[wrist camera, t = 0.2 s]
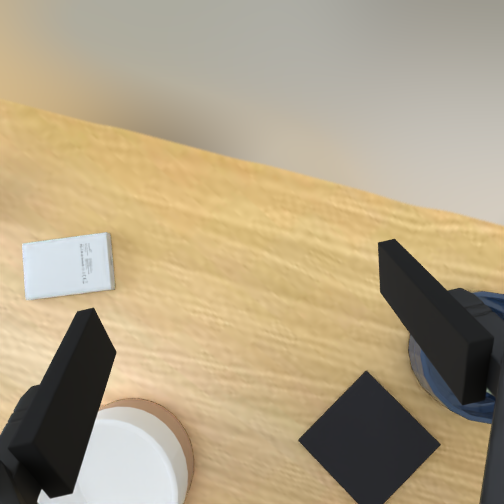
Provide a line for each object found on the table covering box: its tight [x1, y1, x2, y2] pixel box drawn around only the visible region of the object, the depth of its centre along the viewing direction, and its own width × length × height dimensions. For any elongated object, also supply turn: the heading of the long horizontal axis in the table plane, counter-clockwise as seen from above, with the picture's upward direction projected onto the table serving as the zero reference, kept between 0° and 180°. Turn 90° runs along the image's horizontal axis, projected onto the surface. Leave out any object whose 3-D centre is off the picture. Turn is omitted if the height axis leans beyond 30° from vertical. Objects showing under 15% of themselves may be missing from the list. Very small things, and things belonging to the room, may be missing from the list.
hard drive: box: [22, 232, 115, 300], centre depth 53 cm, size 2×8×12 cm
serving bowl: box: [408, 291, 504, 424], centre depth 47 cm, size 16×16×4 cm
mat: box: [299, 371, 440, 504], centre depth 49 cm, size 13×13×1 cm
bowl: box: [37, 399, 194, 504], centre depth 47 cm, size 17×17×8 cm
